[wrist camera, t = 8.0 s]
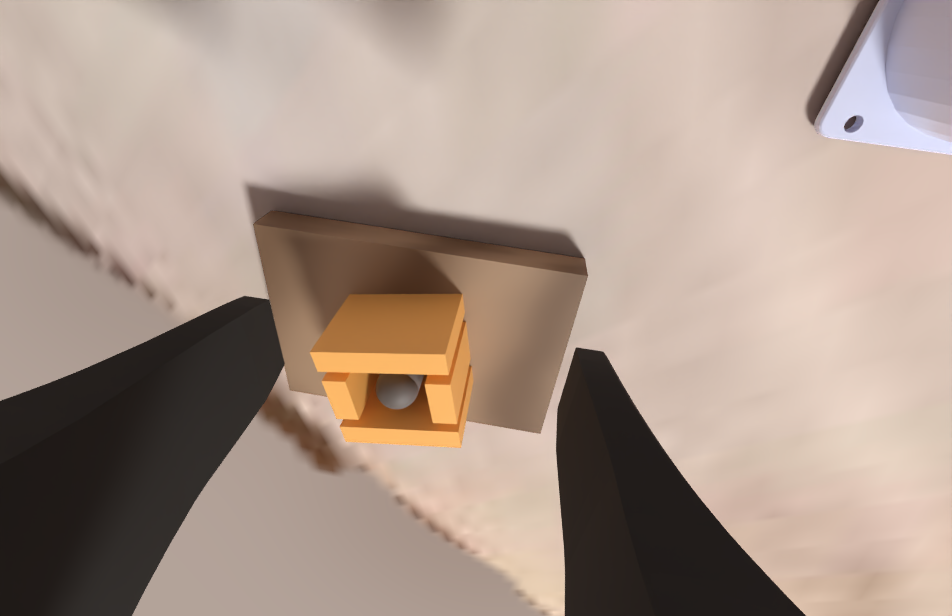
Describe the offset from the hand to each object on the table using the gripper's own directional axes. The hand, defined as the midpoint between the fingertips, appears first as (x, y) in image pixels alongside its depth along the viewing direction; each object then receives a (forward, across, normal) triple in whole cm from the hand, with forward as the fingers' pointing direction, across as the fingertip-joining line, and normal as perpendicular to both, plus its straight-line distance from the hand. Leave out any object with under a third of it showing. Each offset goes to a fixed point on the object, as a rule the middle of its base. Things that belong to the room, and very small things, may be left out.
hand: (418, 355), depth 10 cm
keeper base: (+9, +2, +6) cm, 11 cm away
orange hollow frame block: (+8, +2, +6) cm, 10 cm away
